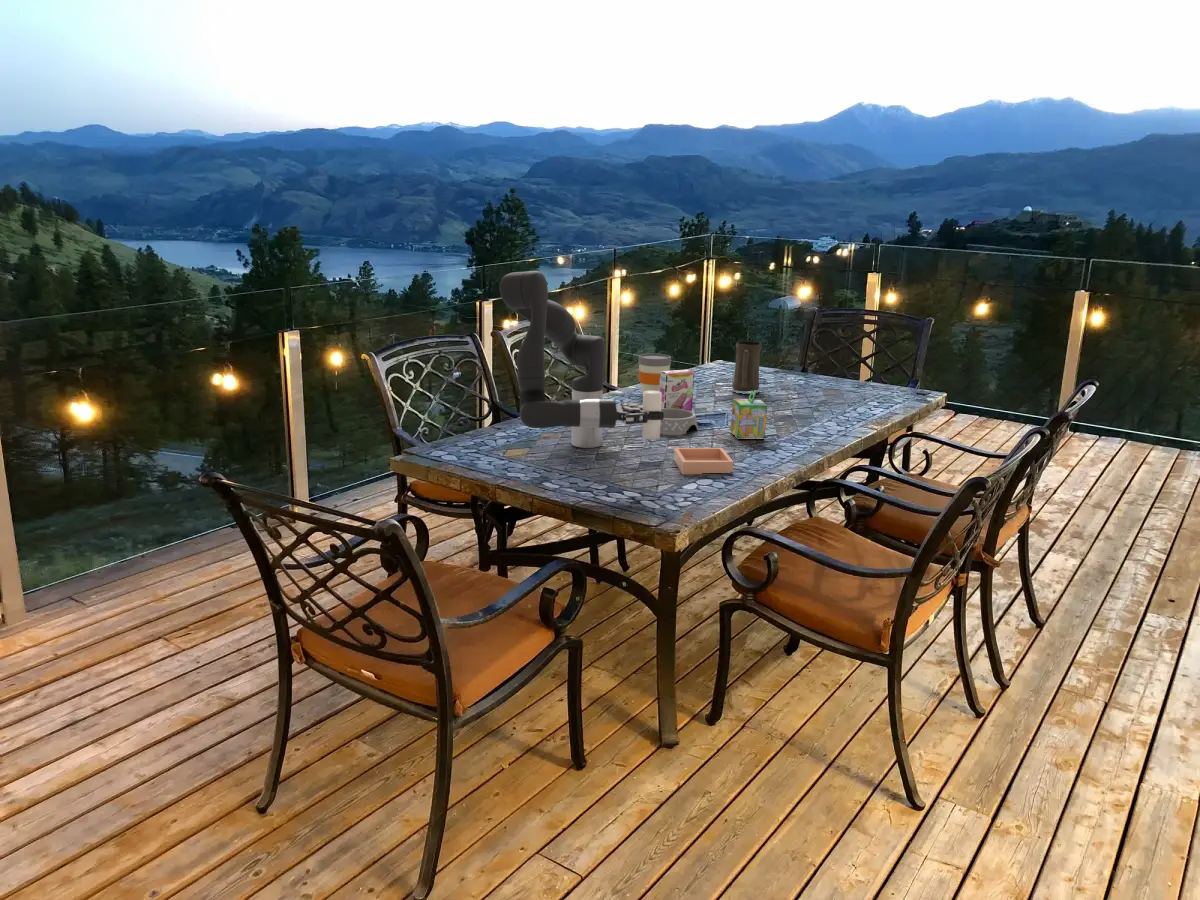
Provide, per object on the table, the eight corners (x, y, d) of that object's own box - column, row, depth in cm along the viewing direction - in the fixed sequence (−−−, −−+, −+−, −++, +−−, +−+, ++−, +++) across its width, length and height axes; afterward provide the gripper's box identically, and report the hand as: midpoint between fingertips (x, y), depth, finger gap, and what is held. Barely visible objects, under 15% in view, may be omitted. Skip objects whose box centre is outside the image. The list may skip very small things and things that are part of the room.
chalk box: (729, 433, 285) (732, 388, 281) (757, 433, 286) (760, 388, 282) (736, 440, 276) (739, 394, 272) (765, 440, 277) (768, 394, 273)
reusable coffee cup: (637, 398, 332) (639, 358, 328) (636, 391, 344) (637, 353, 340) (671, 398, 332) (672, 359, 328) (668, 391, 344) (670, 353, 340)
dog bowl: (632, 429, 288) (633, 413, 287) (665, 419, 302) (666, 404, 300) (675, 439, 278) (676, 422, 276) (707, 428, 292) (708, 412, 290)
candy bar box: (664, 421, 299) (666, 373, 294) (657, 417, 303) (659, 370, 298) (692, 418, 303) (695, 371, 299) (685, 415, 308) (687, 368, 303)
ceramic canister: (640, 434, 234) (641, 390, 231) (658, 434, 235) (660, 390, 231) (642, 439, 230) (644, 394, 226) (661, 439, 230) (662, 394, 227)
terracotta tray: (673, 459, 254) (674, 448, 253) (721, 459, 256) (722, 447, 255) (682, 474, 241) (683, 462, 240) (732, 473, 242) (733, 461, 241)
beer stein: (731, 388, 353) (734, 339, 346) (758, 389, 352) (761, 339, 345) (732, 398, 339) (736, 348, 332) (760, 400, 338) (764, 348, 331)
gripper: (599, 405, 221) (666, 405, 223) (594, 392, 235) (658, 392, 236) (599, 434, 223) (665, 434, 225) (594, 420, 237) (657, 419, 238)
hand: (661, 412), depth 231 cm, fingers closed on ceramic canister, 4 cm apart
